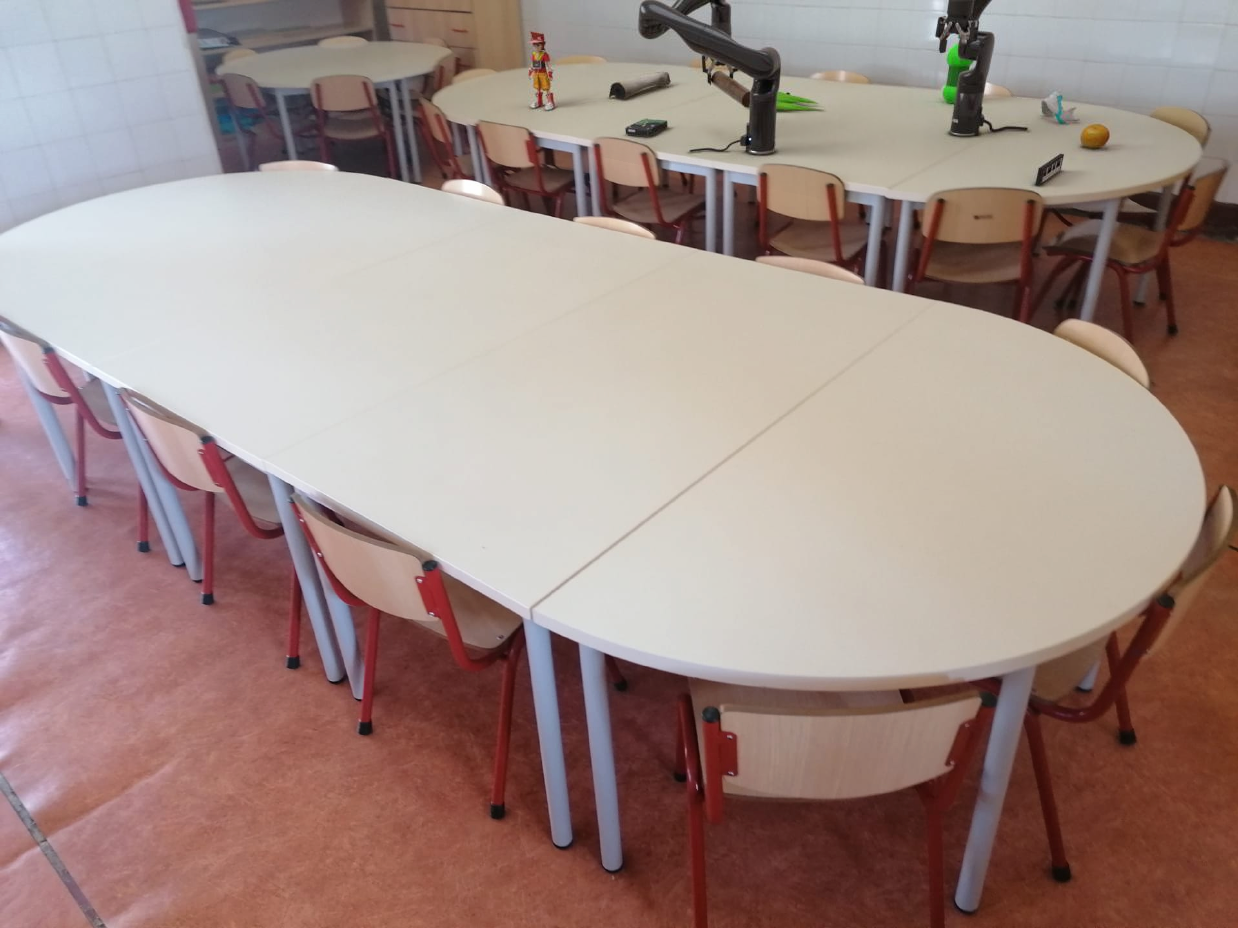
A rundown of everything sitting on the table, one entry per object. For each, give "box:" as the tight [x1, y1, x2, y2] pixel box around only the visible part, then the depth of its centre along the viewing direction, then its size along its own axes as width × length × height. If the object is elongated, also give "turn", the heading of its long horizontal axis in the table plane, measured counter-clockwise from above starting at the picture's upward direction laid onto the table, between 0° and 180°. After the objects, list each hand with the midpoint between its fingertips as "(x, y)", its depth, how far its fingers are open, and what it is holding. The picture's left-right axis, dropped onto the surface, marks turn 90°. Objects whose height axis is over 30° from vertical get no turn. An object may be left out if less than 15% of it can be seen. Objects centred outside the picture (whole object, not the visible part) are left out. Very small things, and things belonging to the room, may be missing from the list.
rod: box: [711, 70, 751, 109], centre depth 323 cm, size 28×5×5 cm, turn 18°
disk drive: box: [624, 118, 668, 137], centre depth 342 cm, size 10×3×15 cm
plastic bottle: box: [942, 34, 974, 104], centre depth 348 cm, size 10×10×25 cm
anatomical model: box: [1040, 91, 1081, 124], centre depth 325 cm, size 15×10×10 cm
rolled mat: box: [608, 71, 672, 101], centre depth 395 cm, size 30×9×10 cm
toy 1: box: [527, 31, 556, 111], centre depth 374 cm, size 12×9×30 cm
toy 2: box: [777, 91, 821, 111], centre depth 360 cm, size 28×5×30 cm
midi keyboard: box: [1035, 153, 1065, 186], centre depth 273 cm, size 18×1×5 cm, turn 138°
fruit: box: [1079, 123, 1111, 149], centre depth 296 cm, size 8×8×8 cm
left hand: (720, 84), depth 333 cm, fingers closed on rod, 7 cm apart
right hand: (953, 54), depth 285 cm, fingers open, 8 cm apart
